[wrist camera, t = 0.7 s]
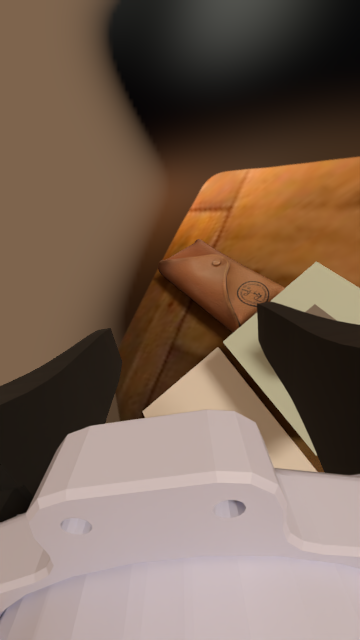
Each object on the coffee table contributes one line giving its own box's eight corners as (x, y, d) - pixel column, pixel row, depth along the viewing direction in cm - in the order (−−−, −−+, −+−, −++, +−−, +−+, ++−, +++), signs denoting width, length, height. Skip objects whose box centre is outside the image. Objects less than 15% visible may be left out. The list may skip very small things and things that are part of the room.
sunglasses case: (292, 286, 28) (262, 284, 23) (264, 335, 31) (233, 342, 26) (196, 237, 39) (164, 229, 34) (182, 276, 42) (151, 274, 38)
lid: (457, 353, 16) (492, 333, 13) (316, 455, 18) (314, 460, 14) (316, 265, 23) (315, 236, 20) (224, 343, 24) (208, 329, 21)
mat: (327, 485, 20) (327, 485, 20) (211, 565, 22) (209, 567, 21) (219, 347, 29) (217, 347, 29) (144, 411, 31) (142, 411, 31)
